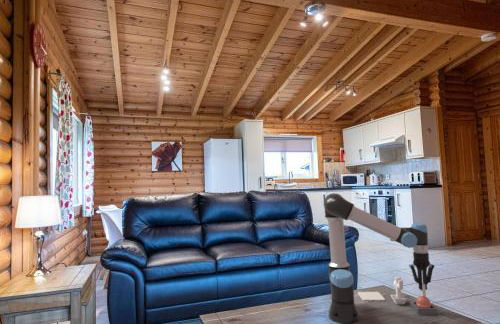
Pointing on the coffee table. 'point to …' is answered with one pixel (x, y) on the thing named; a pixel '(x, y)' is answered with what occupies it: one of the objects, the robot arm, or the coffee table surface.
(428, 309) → the housing
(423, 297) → the pink ball
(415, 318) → the coffee table surface
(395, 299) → the white faucet
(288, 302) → the coffee table surface
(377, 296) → the game square
